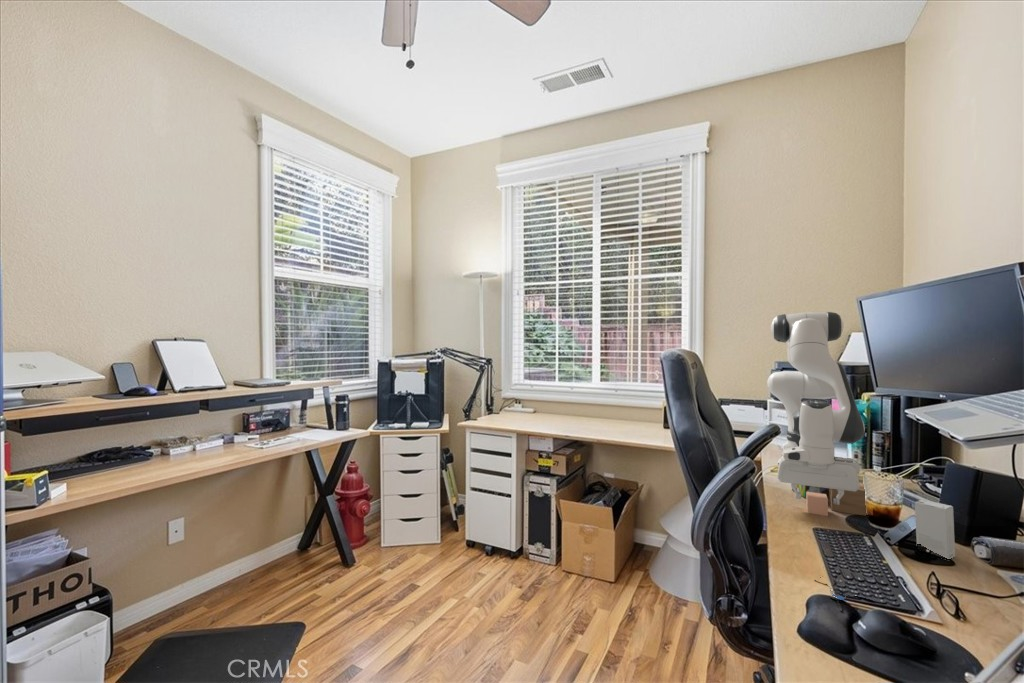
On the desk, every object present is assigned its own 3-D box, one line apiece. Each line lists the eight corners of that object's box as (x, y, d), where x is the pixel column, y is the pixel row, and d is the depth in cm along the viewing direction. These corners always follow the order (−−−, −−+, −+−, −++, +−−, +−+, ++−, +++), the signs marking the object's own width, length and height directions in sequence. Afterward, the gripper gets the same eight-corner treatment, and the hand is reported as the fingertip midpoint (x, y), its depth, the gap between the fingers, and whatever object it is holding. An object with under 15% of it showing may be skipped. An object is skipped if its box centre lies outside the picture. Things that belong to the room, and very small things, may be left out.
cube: (806, 507, 139) (806, 491, 139) (826, 510, 136) (825, 494, 136) (807, 513, 135) (807, 496, 135) (828, 516, 132) (827, 499, 132)
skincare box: (955, 557, 106) (955, 505, 107) (948, 561, 104) (948, 509, 104) (922, 546, 112) (922, 498, 112) (914, 551, 110) (914, 501, 110)
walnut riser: (828, 502, 143) (828, 479, 143) (868, 508, 138) (868, 484, 138) (831, 510, 136) (831, 486, 136) (873, 516, 131) (873, 491, 131)
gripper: (857, 456, 133) (858, 504, 133) (777, 449, 143) (777, 492, 143) (861, 461, 128) (862, 510, 127) (777, 453, 138) (778, 498, 137)
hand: (816, 501), depth 135 cm, fingers open, 8 cm apart
